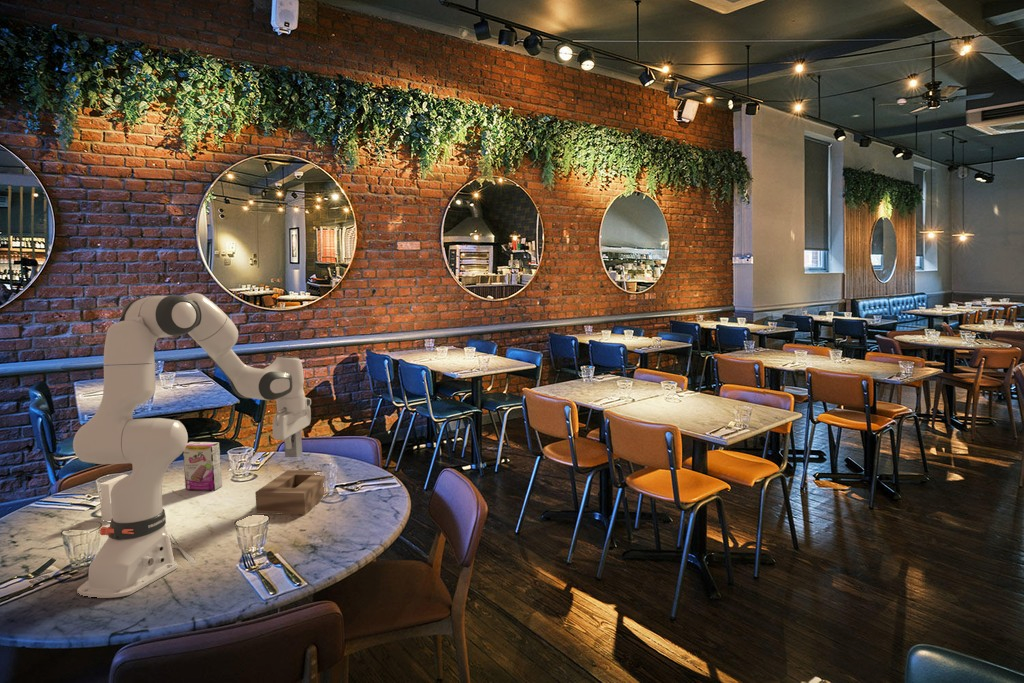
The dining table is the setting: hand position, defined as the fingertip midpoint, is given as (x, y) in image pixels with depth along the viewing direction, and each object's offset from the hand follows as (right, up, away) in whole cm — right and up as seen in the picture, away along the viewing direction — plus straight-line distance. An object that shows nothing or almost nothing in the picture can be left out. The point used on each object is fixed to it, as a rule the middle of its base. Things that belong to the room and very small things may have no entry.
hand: (293, 446), depth 204 cm
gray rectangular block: (0, -3, 0) cm, 3 cm away
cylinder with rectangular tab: (-52, -21, -8) cm, 57 cm away
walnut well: (0, -19, +2) cm, 19 cm away
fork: (-18, -24, -35) cm, 46 cm away
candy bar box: (-37, -18, +16) cm, 44 cm away
